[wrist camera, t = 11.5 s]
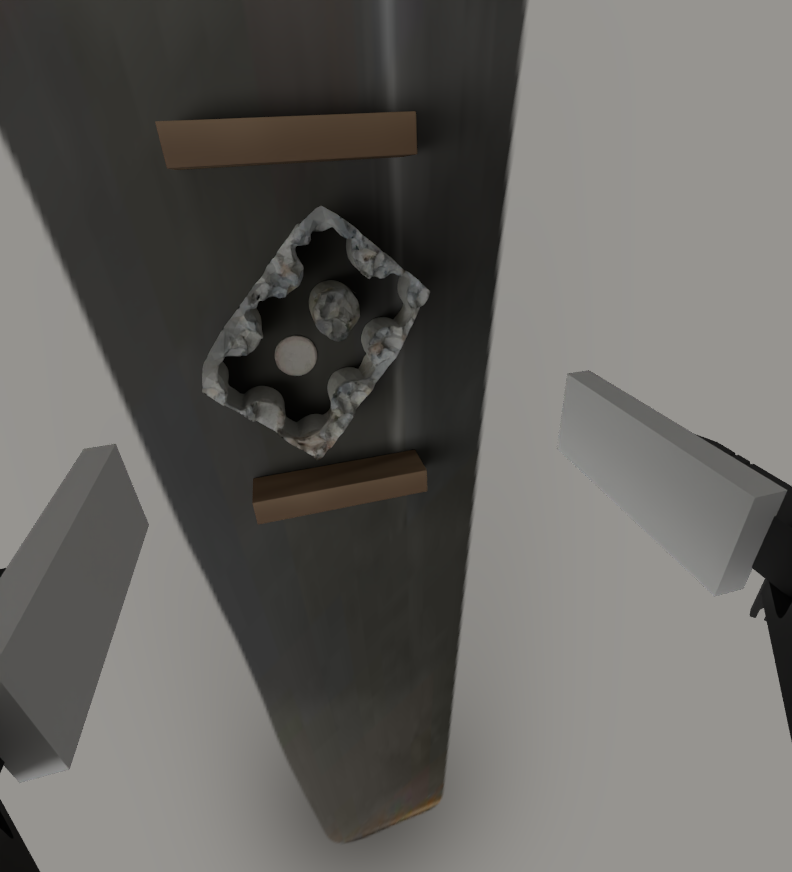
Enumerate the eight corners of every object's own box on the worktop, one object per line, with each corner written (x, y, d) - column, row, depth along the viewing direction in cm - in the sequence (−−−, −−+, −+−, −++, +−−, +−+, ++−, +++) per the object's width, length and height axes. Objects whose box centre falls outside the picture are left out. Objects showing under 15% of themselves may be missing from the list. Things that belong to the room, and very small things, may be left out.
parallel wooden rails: (166, 128, 19) (155, 121, 17) (400, 118, 21) (415, 111, 19) (258, 498, 29) (258, 524, 27) (415, 469, 31) (427, 490, 28)
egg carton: (309, 436, 28) (316, 472, 24) (190, 365, 24) (179, 396, 21) (426, 290, 26) (452, 308, 22) (313, 189, 22) (323, 190, 18)
